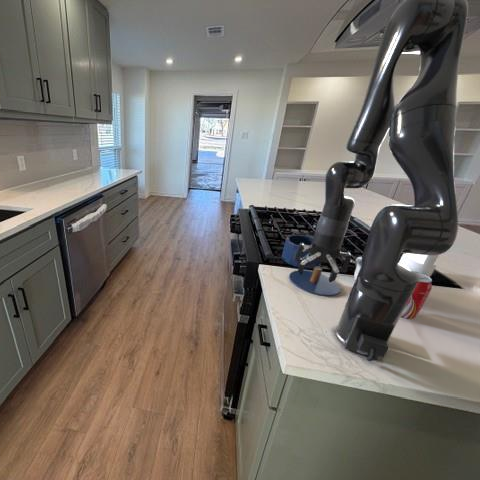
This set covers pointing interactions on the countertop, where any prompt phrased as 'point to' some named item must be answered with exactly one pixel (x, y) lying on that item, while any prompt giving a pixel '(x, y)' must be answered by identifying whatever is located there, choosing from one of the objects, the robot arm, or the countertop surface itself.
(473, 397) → the countertop surface
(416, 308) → the soda can
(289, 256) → the pot
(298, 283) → the pot lid
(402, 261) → the cylinder with rectangular tab
